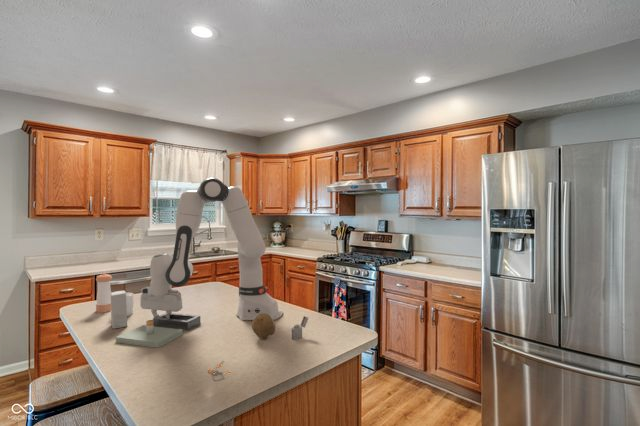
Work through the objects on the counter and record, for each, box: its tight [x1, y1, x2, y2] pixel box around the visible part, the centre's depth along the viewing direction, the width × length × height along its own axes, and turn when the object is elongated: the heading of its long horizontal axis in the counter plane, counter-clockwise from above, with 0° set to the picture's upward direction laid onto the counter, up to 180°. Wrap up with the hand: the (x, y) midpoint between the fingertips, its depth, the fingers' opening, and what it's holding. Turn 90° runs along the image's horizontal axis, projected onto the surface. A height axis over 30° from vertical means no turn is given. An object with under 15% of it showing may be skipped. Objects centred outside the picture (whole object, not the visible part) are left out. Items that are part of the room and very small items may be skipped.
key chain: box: [207, 360, 232, 382], centre depth 111 cm, size 13×7×1 cm, turn 29°
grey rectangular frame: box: [152, 312, 201, 331], centre depth 154 cm, size 18×9×4 cm, turn 74°
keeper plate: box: [115, 319, 184, 348], centre depth 139 cm, size 20×14×7 cm
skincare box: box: [110, 290, 128, 329], centre depth 154 cm, size 8×6×15 cm
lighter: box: [291, 315, 309, 341], centre depth 139 cm, size 7×2×8 cm, turn 124°
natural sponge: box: [251, 313, 276, 340], centre depth 138 cm, size 9×9×10 cm
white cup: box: [126, 292, 135, 317], centre depth 170 cm, size 8×8×10 cm
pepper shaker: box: [95, 272, 113, 313], centre depth 177 cm, size 7×7×19 cm
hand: (161, 319), depth 157 cm, fingers open, 4 cm apart
